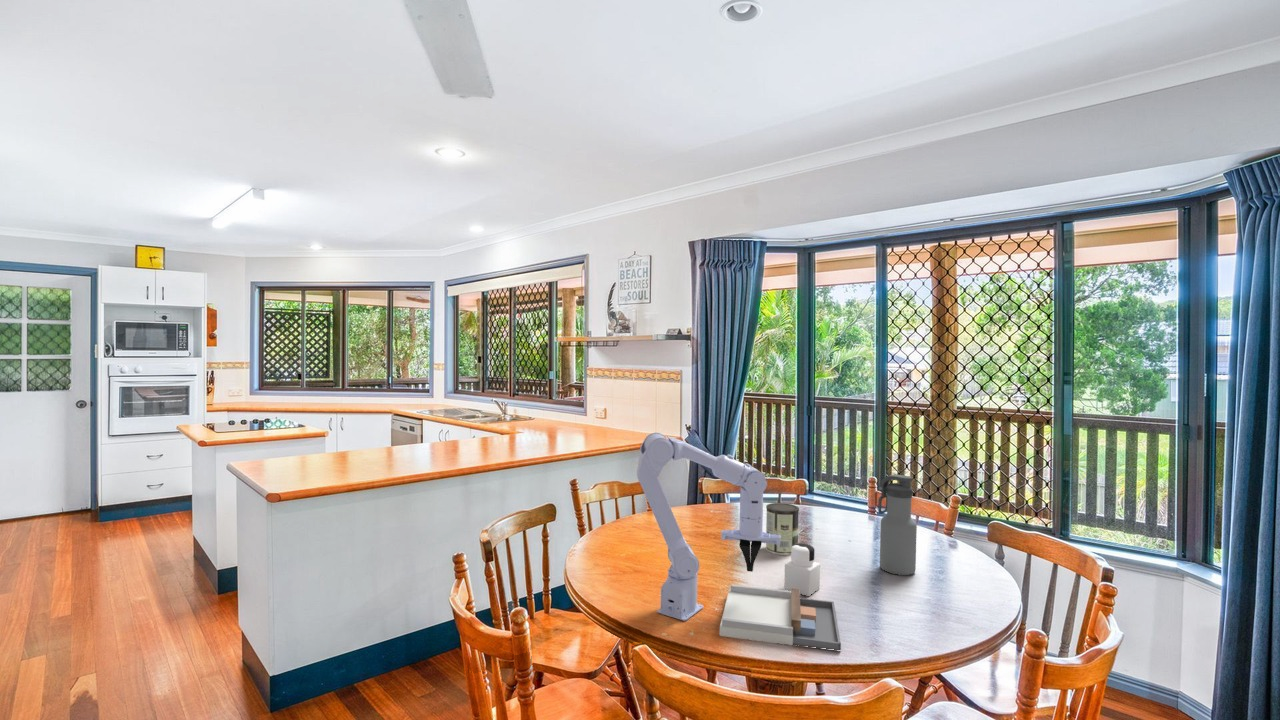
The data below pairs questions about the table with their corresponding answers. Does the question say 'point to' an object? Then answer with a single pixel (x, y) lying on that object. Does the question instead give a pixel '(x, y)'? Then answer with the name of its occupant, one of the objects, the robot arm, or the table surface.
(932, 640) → the table surface
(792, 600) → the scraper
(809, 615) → the tile
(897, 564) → the water bottle
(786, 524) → the coffee can
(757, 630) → the white rimmed panel
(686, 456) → the robot arm
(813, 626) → the tile
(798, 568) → the medicine bottle
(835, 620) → the box
